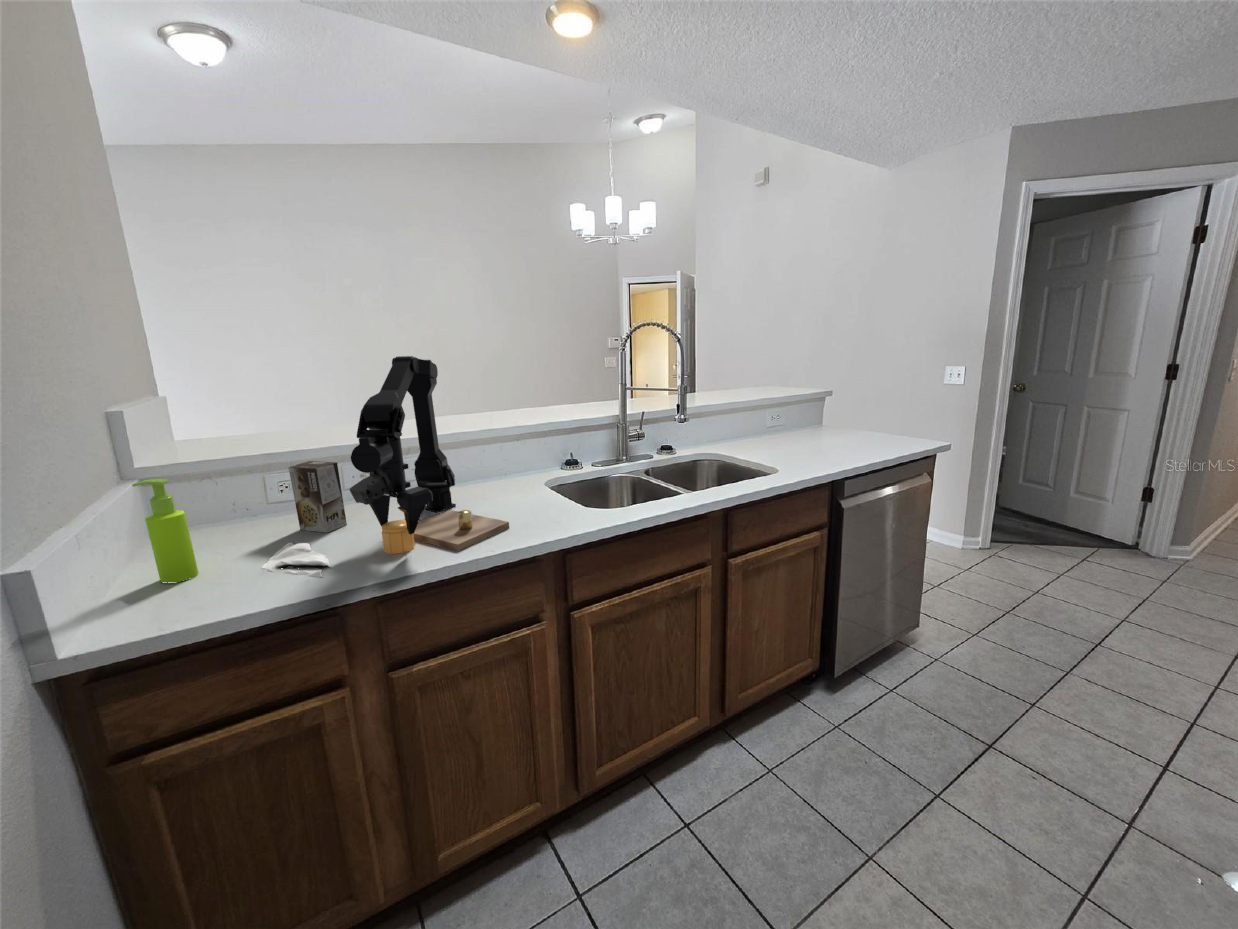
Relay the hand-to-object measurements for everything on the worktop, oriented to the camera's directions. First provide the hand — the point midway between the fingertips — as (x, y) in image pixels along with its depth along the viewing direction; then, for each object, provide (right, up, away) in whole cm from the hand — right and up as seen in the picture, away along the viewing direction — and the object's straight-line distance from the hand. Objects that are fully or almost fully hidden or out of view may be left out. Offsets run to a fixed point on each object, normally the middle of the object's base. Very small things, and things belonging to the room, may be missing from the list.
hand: (397, 530), depth 117 cm
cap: (0, -4, +1) cm, 4 cm away
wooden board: (+9, -2, +10) cm, 14 cm away
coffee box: (-25, -1, +16) cm, 29 cm away
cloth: (-19, -7, -4) cm, 21 cm away
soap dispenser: (-39, -8, -11) cm, 41 cm away
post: (+13, 0, +8) cm, 15 cm away
